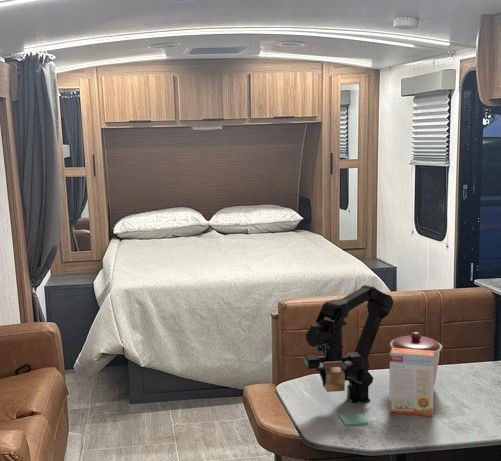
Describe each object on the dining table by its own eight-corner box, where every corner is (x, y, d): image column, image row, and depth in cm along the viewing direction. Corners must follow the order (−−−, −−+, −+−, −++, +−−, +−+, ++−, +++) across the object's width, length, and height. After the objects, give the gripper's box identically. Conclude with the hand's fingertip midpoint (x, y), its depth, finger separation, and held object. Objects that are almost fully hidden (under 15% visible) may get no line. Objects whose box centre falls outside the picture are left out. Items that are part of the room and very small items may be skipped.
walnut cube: (339, 383, 213) (339, 366, 212) (344, 390, 207) (344, 373, 206) (322, 385, 212) (322, 368, 211) (327, 392, 206) (327, 374, 206)
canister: (392, 397, 220) (393, 339, 217) (387, 378, 238) (387, 324, 235) (445, 399, 218) (446, 340, 215) (436, 379, 235) (437, 325, 232)
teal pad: (360, 414, 207) (360, 412, 207) (367, 424, 200) (367, 422, 200) (339, 416, 206) (339, 414, 206) (345, 426, 199) (345, 424, 199)
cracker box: (433, 410, 209) (435, 350, 206) (432, 417, 204) (434, 356, 201) (390, 405, 214) (391, 346, 211) (388, 412, 208) (389, 352, 205)
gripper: (353, 331, 217) (352, 374, 219) (300, 334, 214) (300, 378, 216) (363, 341, 206) (363, 386, 208) (308, 344, 203) (308, 390, 205)
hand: (333, 384), depth 210 cm, fingers closed on walnut cube, 6 cm apart
